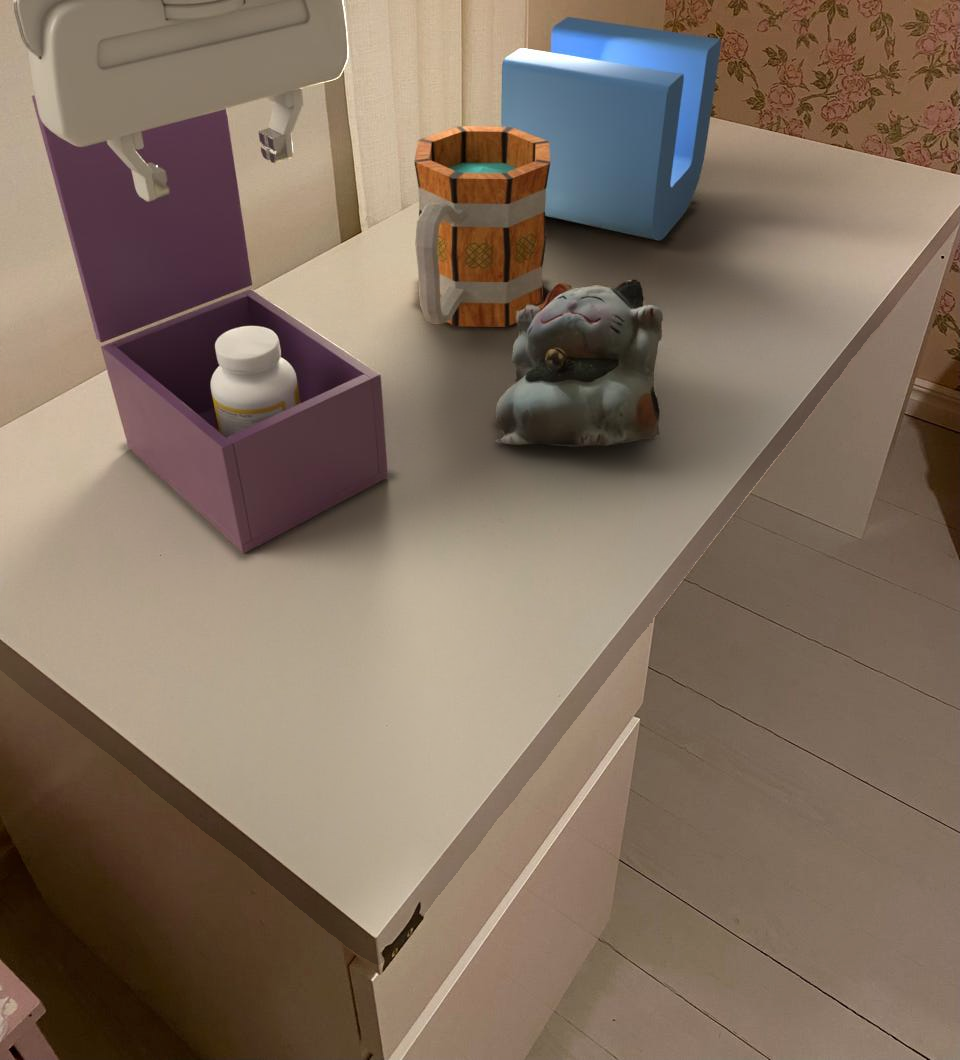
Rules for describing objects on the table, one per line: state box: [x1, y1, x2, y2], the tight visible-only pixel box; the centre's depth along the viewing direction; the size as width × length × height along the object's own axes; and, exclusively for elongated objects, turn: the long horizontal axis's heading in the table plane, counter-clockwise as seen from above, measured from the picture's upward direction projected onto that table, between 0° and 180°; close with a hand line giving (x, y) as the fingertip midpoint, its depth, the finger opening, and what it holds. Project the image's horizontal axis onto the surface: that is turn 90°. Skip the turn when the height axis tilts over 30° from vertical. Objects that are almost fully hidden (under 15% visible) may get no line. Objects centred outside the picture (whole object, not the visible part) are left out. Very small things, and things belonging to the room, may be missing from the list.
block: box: [500, 16, 722, 241], centre depth 117 cm, size 18×18×18 cm
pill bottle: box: [211, 326, 300, 438], centre depth 81 cm, size 6×6×12 cm
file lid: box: [31, 94, 253, 343], centre depth 80 cm, size 19×14×5 cm
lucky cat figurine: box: [495, 278, 664, 448], centre depth 87 cm, size 15×12×14 cm
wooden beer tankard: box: [414, 125, 550, 328], centre depth 101 cm, size 20×14×15 cm
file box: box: [100, 288, 389, 554], centre depth 83 cm, size 18×14×10 cm
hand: (218, 176), depth 69 cm, fingers open, 8 cm apart
